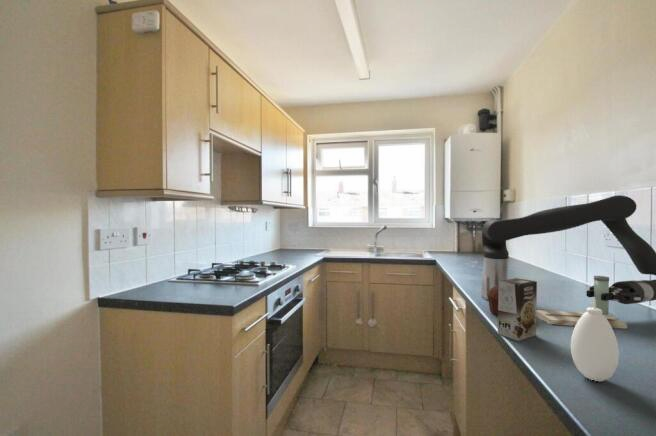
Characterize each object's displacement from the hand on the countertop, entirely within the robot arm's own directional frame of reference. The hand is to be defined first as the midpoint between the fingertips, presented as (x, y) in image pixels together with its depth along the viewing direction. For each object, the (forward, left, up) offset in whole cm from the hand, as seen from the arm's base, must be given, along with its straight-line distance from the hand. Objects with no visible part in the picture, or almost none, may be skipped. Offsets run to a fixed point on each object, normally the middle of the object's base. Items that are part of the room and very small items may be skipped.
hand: (595, 295), depth 100 cm
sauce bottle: (-24, -38, -9) cm, 46 cm away
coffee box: (-29, -15, -9) cm, 34 cm away
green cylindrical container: (+3, +1, -7) cm, 8 cm away
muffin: (-26, +4, -9) cm, 28 cm away
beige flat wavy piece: (-4, +1, -9) cm, 10 cm away
